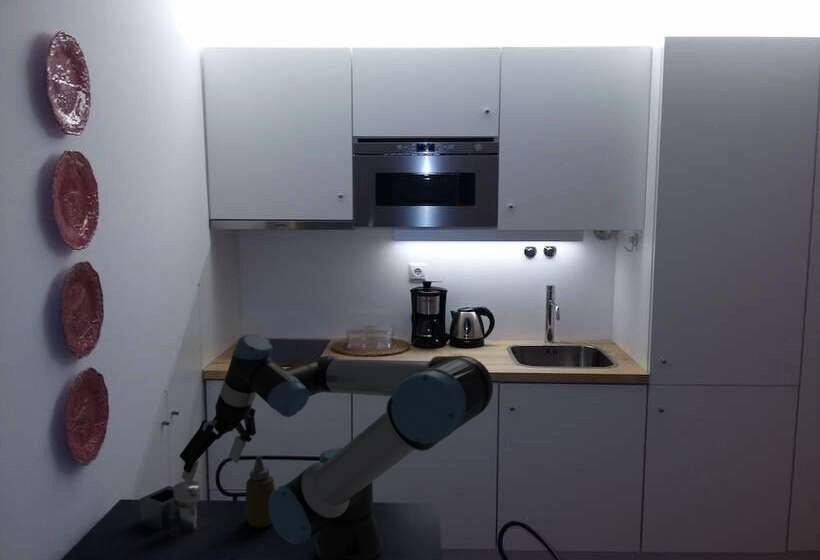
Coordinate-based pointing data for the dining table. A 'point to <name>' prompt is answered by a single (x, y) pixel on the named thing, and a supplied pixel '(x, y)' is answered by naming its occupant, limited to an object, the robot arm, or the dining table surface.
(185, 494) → the dark grey round knob
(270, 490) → the squeeze bottle
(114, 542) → the dining table surface
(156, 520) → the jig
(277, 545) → the dining table surface
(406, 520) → the dining table surface
